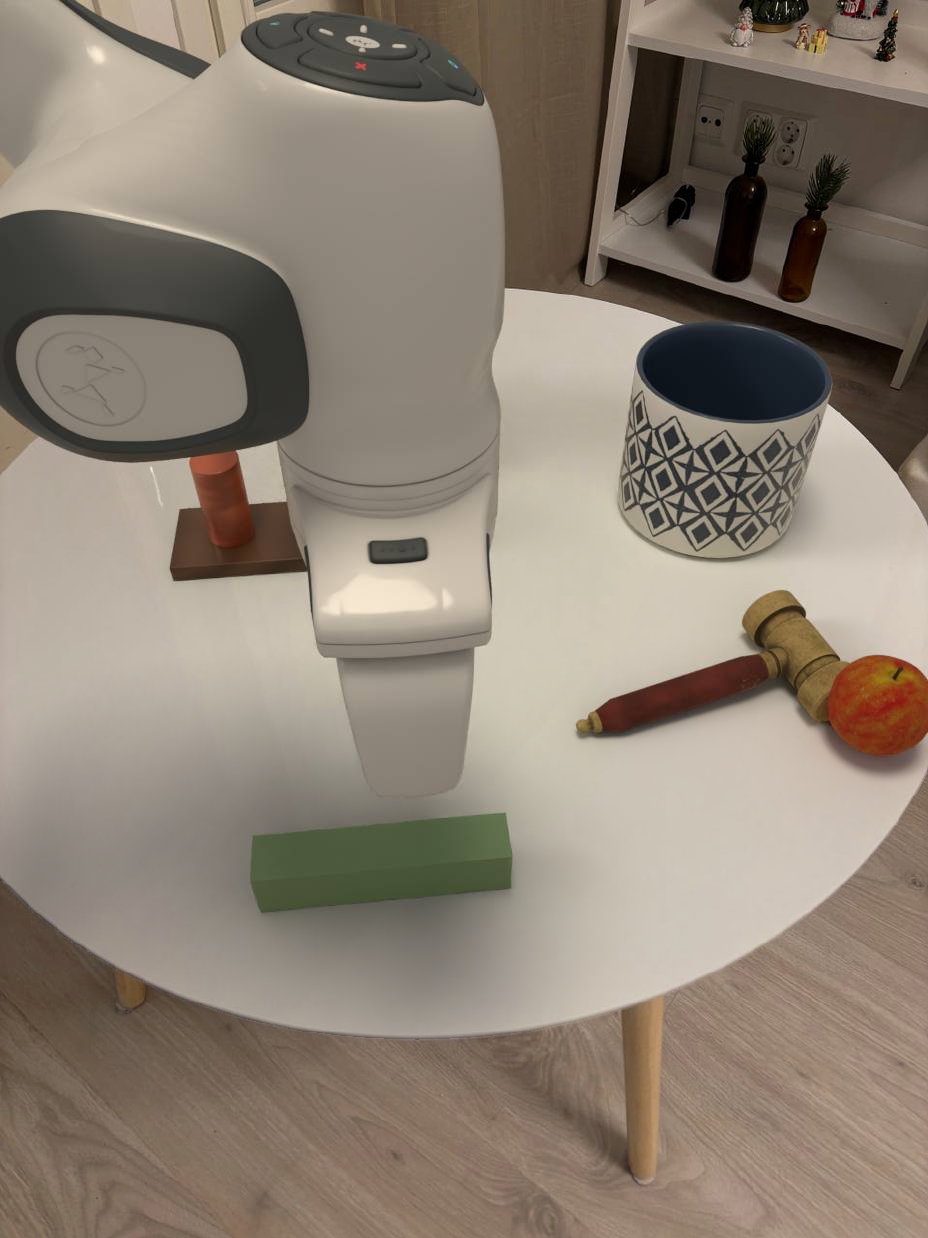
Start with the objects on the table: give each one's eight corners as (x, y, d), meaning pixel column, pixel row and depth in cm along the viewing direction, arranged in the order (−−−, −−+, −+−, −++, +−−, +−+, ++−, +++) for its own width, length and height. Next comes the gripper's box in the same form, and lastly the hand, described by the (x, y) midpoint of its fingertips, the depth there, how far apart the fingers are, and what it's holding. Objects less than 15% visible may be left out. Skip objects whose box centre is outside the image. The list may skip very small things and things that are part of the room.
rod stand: (173, 581, 81) (145, 493, 74) (183, 521, 86) (158, 434, 79) (427, 562, 82) (423, 474, 75) (421, 504, 88) (417, 418, 81)
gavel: (606, 764, 63) (549, 659, 70) (604, 800, 67) (549, 697, 73) (875, 673, 67) (797, 581, 73) (860, 711, 70) (786, 621, 77)
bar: (260, 912, 59) (249, 881, 56) (262, 867, 61) (252, 835, 59) (510, 888, 60) (512, 856, 57) (504, 844, 63) (505, 811, 60)
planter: (805, 478, 90) (848, 342, 79) (769, 583, 80) (813, 443, 69) (645, 439, 94) (666, 305, 84) (593, 533, 84) (609, 394, 74)
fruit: (822, 688, 72) (852, 615, 66) (917, 714, 70) (957, 642, 64) (810, 757, 67) (841, 685, 61) (912, 787, 65) (954, 716, 60)
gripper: (317, 351, 46) (343, 561, 56) (312, 665, 31) (349, 871, 41) (445, 344, 46) (449, 553, 56) (498, 651, 32) (490, 858, 42)
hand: (406, 691), depth 49 cm, fingers open, 8 cm apart
